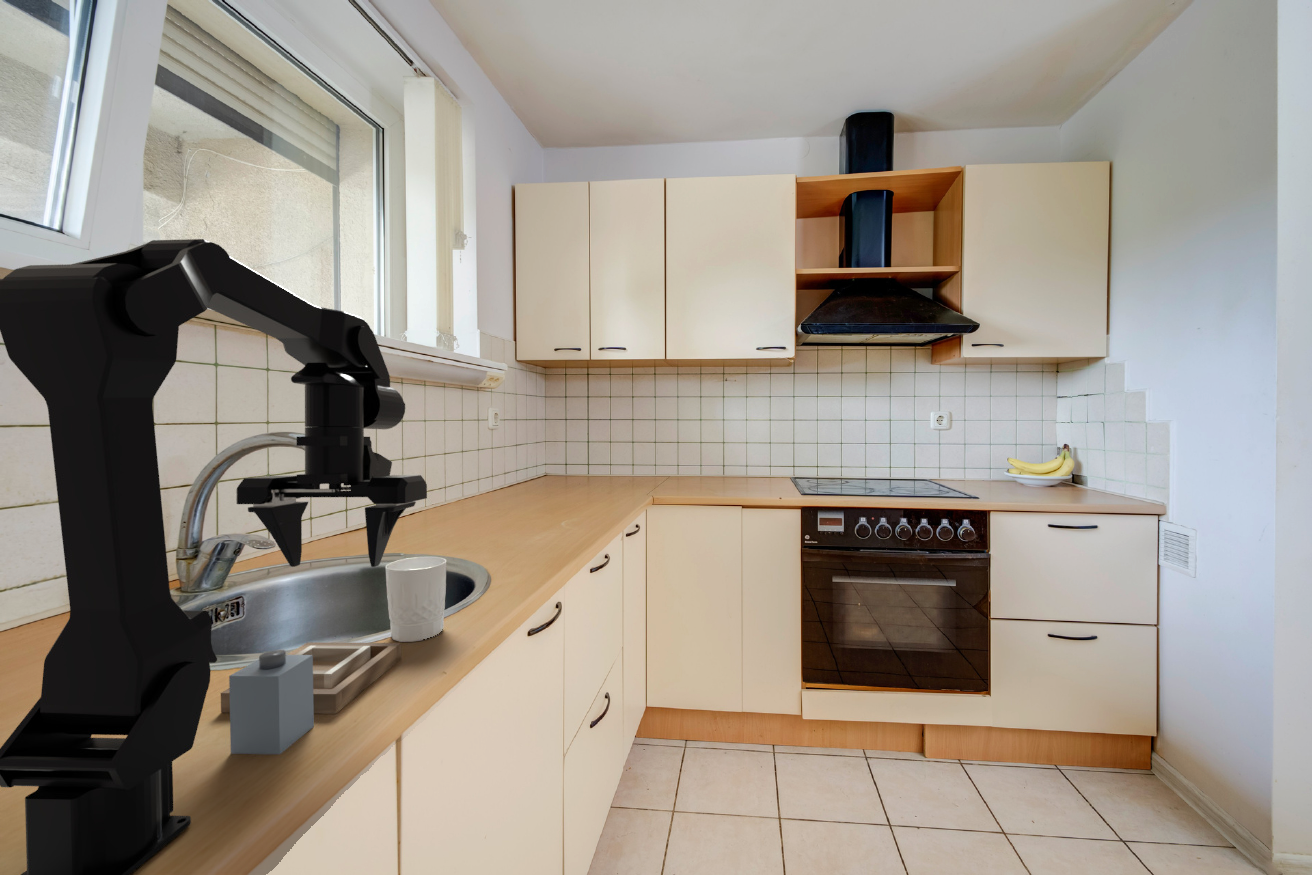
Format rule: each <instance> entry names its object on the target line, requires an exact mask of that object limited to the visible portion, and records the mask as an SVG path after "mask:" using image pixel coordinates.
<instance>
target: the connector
mask: <svg viewBox="0 0 1312 875" xmlns="http://www.w3.org/2000/svg"><path fill="white" fill-rule="evenodd" d="M258 658H259V659H257V660H255V661H253V662H252V663H250V664H248V665H246V666H245V667H243V668H240V669H239V670H238V671H235V672H234V673H231V674H230V675H229V676H228V678H229V680H228V681H229V682H228V683H229V686H228V688H229V689H230V712H229V728H230V729H229V730H230V754H231V755H233V754H234V755H235V754H236V755H238V754H239V755H281V754H283V753H284V751H286V750H287V749H289V748H290V747H291V746H292V745H294V743H295V742H297V741H298V740H299V739H300V738H302V737H304V735H305V734H306V733H308V732H309V731H310V730H312V728H314V726H315V725H314V724H315V721H314V719H315V718H314V715H315V713H314V706H313V655H287V653H286V650H284V649H276V650H270V651H266V652H263V653H262V654H260V655H259V657H258Z"/></svg>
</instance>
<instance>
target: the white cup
mask: <svg viewBox="0 0 1312 875" xmlns="http://www.w3.org/2000/svg"><path fill="white" fill-rule="evenodd" d="M447 563H448V562H447V558H445V557H440V556H414V557H407V558H401V559H398V560H395V561H391V562H388V563H387V564H386V565H385V582H386V584H385V585H386V596H387V597H386V598H387V608H388V618H389V620H390V621H389V624H390V636H391V639H392V640H393V641H397V642H398V643H403V642H404V643H412V642H413V643H414V642H419V641H424V640H423V639H425V640H428V639H427V638H429V639H431V638H430V637H432V638H434V637H435V636H434V635H436V636H438V635H439V634H438V633H440V632H441V631H443V630H444V621H445V619H444V618H445V615H444V613H445V607H446V602H445V600H446V592H447V591H446V590H447V589H446V588H447ZM442 629H443V630H442ZM441 633H442V632H441ZM441 633H440V634H441ZM437 634H438V635H437ZM433 636H434V637H433Z"/></svg>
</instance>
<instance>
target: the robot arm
mask: <svg viewBox="0 0 1312 875" xmlns="http://www.w3.org/2000/svg"><path fill="white" fill-rule="evenodd" d="M208 309H209V310H211V311H213V312H216V313H219V314H221V315H223V316H225V317H228V318H229V319H232V320H234V321H236V322H239V323H241V324H243V325H245V326H247V327H249V328H252V329H254V330H257V331H258V332H261V333H262V334H265V335H268V336H270V337H272V338H275V339H276V340H278V341H279V342H281V343H282V345H283V349H284V351H285V353H286V354H287V355H289V356H290V357H291V358H293V359H294V360H296V361H298V362H299V363H300V364H302V365H303V367H302V369H300V370H299V371H296V372H295V373H294V374H293V375H292V376H291V377H290V380H291V382H292V383H293V384H298V385H304V436H302V435H301V436H296V447H303V446H304V473H301V474H296V475H270V476H269V475H268V476H267V475H266V476H257V477H256V476H255V477H243V479H242V481H241V482H240V483H239V485H238V486H237V487H236V490H235V491H236V492H235V493H236V502H235V503H236V505H252V506H248V507H247V512H248V513H254V514H255V515H256V516H257V518H258V519H259V520H260V521H261V523H262V524H263V525H264V527H265V529H266V530H267V531H268V533H269V534H270V535H271V537H272V538H273V539H274V542H275V543H276V545H277V546H278V548H279V550H280V551H281V553H282V554H283V556H284V558H285V561H287V563H288V565H289V567H290V568H295V567H298V566H300V564H301V559H302V553H303V551H302V549H303V547H302V546H303V544H302V543H303V540H302V539H303V538H302V536H303V534H302V532H303V531H302V524H303V523H302V521H303V520H302V517H303V515H304V513H305V511H306V509H307V507H308V505H309V501H297V500H298V499H301V498H367V499H369V501H370V502H371V503H373V504H374V505H371V506H365V507H364V515H365V516H364V517H365V526H366V529H365V530H366V538H367V539H366V541H367V552H368V554H367V555H368V559H369V564H370V567H371V568H376V567H378V566H379V565H380V564H381V561H382V558H383V556H384V554H385V551H386V548H387V545H388V543H389V540H390V538H391V535H392V532H393V530H394V528H395V526H396V524H397V522H398V520H399V519H400V516H402V514H403V513H404V511H406V509H408V508H409V509H410V508H412V507H415V506H416V503H417V501H420V500H425V499H428V485H427V482H426V479H424V478H423V475H421V474H398V475H397V474H396V475H395V474H393V475H391V473H392V472H391V471H392V466H393V462H392V460H390V459H388V458H386V456H383V455H381V454H380V453H378V452H375V451H374V450H373V447H372V440H371V436H365V431H364V430H365V429H367V430H389V429H392V428H394V427H397V425H399V424H400V423H401V421H402V420H403V419H404V415H405V413H406V402H405V401H404V399H403V396H402V395H401V393H400V392H399V391H397V390H396V389H395V388H393V387H391V378H390V377H391V376H390V372H389V370H388V368H387V365H386V362H385V359H384V356H383V354H382V352H381V349H380V347H379V344H378V341H377V339H376V336H375V334H374V331H373V330H372V328H371V326H370V325H369V324H368V322H367V321H366V320H365V319H364V318H362V317H361V316H359V315H355V314H352V313H350V312H347V311H344V310H337V309H333V308H328V307H327V308H325V307H323V306H322V307H320V306H318V305H314V304H312V303H311V302H309V301H307V300H306V299H303V298H302V297H300V296H298V295H297V294H295V293H294V292H292V291H290V290H288V289H286V288H285V287H283V286H281V285H280V284H278V283H276V282H275V281H272V280H271V279H269V278H268V277H265V276H264V275H262V274H261V273H259V272H258V271H255V270H253V269H252V268H250V267H249V266H247V265H245V264H244V263H242V262H240V261H238V260H236V258H233V257H232V256H230V255H229V253H228V252H227V251H226V249H224V248H223V247H222V246H221V245H220V244H217V243H215V242H211V241H208V240H206V239H203V238H195V239H157V240H155V239H153V240H151V241H149V242H147V243H145V244H141V245H139V246H138V245H137V246H136V247H134V248H131V249H129V250H126V251H121V252H118V253H112V254H109V255H105V256H101V257H97V258H93V259H89V260H88V259H87V260H84V261H80V262H75V263H72V264H33V265H31V264H30V265H26V266H23V267H19V268H18V267H17V268H15V269H13V270H12V271H11V272H10V273H8V274H7V275H5V276H4V277H3V278H0V334H1V338H2V341H3V344H4V347H5V350H6V353H7V355H8V358H9V359H10V361H11V362H12V363H13V364H14V365H15V366H16V367H17V369H18V370H19V371H20V372H21V373H22V375H23V376H24V377H25V378H26V379H27V380H28V382H30V384H31V385H32V386H33V387H34V388H35V390H37V392H39V394H40V395H41V396H42V397H43V399H44V402H45V404H46V406H47V412H48V420H49V421H48V422H49V430H50V431H49V432H50V440H51V447H52V456H53V466H54V476H55V477H54V478H55V483H56V484H55V485H56V493H57V503H58V510H59V520H60V528H61V529H60V530H61V538H62V547H63V548H62V549H63V555H64V556H63V557H64V566H65V575H66V583H67V591H68V592H67V593H68V601H69V619H68V620H67V622H66V623H65V625H64V627H63V628H62V630H61V632H60V634H59V635H58V637H57V638H56V639H55V641H54V643H53V644H52V646H51V647H50V649H49V651H48V653H47V654H46V656H45V658H44V660H43V661H44V662H43V669H42V670H43V672H42V682H41V683H42V684H41V693H40V697H39V699H38V700H37V701H36V702H35V704H34V705H33V706H32V707H31V709H30V710H29V711H28V712H27V713H26V715H25V716H24V718H23V719H22V720H21V721H20V723H18V725H17V727H16V728H15V729H14V730H13V732H12V733H10V736H9V737H8V738H7V739H6V740H5V742H4V743H3V744H2V746H0V788H12V787H37V789H36V790H35V791H32V792H31V793H29V794H28V795H26V796H25V798H24V807H25V809H24V810H25V811H24V812H25V815H24V816H25V843H26V844H25V846H26V847H25V848H26V851H25V852H26V871H24V872H22V873H21V874H20V875H129V874H130V875H131V874H133V872H135V871H134V870H137V869H138V868H140V867H141V866H142V865H143V864H144V863H145V862H147V861H148V860H149V859H150V858H152V857H153V856H155V855H156V854H157V853H158V852H159V851H160V850H161V849H163V848H164V847H165V846H166V845H168V844H169V843H170V842H171V841H173V839H175V838H176V837H177V836H178V835H180V834H181V833H182V832H184V831H185V830H186V829H187V828H189V826H190V825H191V824H192V819H191V816H189V815H171V813H172V812H173V811H174V779H173V778H174V777H173V776H174V775H173V773H174V772H173V771H174V770H173V762H174V761H175V760H176V759H178V758H179V757H182V756H183V755H185V753H187V752H189V751H190V750H192V748H193V747H194V743H195V739H196V735H197V731H198V728H199V725H200V724H199V723H200V720H201V715H202V711H203V708H204V704H205V701H206V696H207V693H208V689H209V686H210V684H211V670H212V669H211V665H210V664H211V663H216V662H217V661H218V657H217V656H216V654H215V652H214V650H213V644H212V627H213V626H212V625H213V622H212V618H211V616H210V613H209V611H207V610H183V609H182V608H181V607H180V605H179V604H178V603H177V602H176V601H175V599H173V596H172V594H171V588H170V576H169V567H168V557H167V546H166V536H165V526H164V525H165V524H164V514H163V504H162V494H161V492H162V491H161V482H160V472H159V461H158V449H157V438H156V431H155V430H156V428H155V419H154V408H153V404H154V399H155V396H156V394H157V392H158V391H159V390H160V388H161V386H162V385H163V383H164V381H165V380H166V378H167V377H168V375H169V374H170V372H171V370H172V368H173V367H174V365H175V364H176V362H177V355H178V346H179V345H178V344H179V343H178V342H179V330H180V326H182V325H183V324H185V323H187V322H189V321H191V320H192V319H194V318H196V317H197V316H199V315H201V314H202V313H204V312H205V311H206V310H208ZM326 484H327V485H328V488H321V485H326ZM342 485H343V486H342ZM92 735H94V736H99V735H100V736H101V735H102V736H103V735H104V736H105V735H106V736H126V737H121V738H119V737H92ZM136 868H137V869H136Z"/></svg>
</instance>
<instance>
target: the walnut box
mask: <svg viewBox="0 0 1312 875" xmlns="http://www.w3.org/2000/svg"><path fill="white" fill-rule="evenodd" d="M286 655H313V706H314V714H329V715H331V714H332V715H333V714H334V715H336V714H337V713H338V712H340V711H341V710H342V709H343V708H345V707H346V706H347V705H348V704H349V703H350V702H352V701H353V700H354V699H355V698H356V697H357V696H359V695H360V694H361V693H362V692H363V691H365V690H366V689H367V688H369V687H370V686H371V685H372V684H374V682H376V680H378V679H379V678H380V677H381V676H383V675H384V674H385V673H386V672H387V671H389V670H390V669H391V668H392V667H393V666H395V664H397V663H398V662H399V661H401V660H402V642H321V641H320V642H309V641H308V642H305V643H303V644H302V645H301V646H299V647H297V648H295V649H294V650H292V651H290V652H288V653H286ZM220 713H230V689H229V687H228V688H227V689H225V690H223V691H221V692H220Z"/></svg>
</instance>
